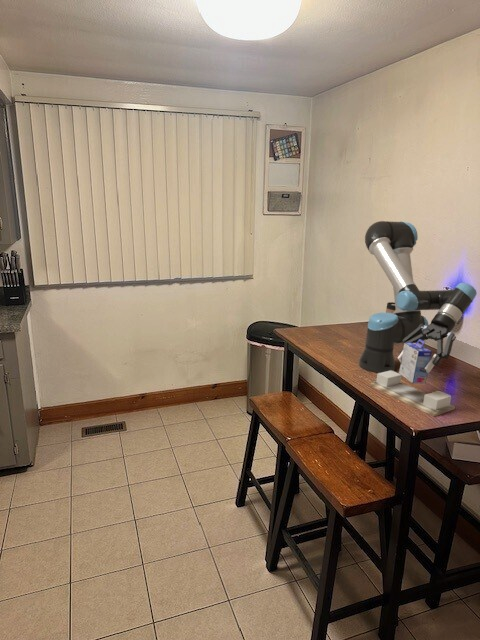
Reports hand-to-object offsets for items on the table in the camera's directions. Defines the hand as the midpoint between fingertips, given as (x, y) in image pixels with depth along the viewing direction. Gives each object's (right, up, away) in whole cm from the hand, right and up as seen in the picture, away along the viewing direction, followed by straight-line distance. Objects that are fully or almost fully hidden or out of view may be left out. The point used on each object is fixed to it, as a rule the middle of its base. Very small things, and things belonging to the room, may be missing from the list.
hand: (412, 365), depth 157 cm
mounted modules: (+2, -11, +5) cm, 12 cm away
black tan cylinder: (+16, +5, +71) cm, 73 cm away
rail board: (+1, -12, +6) cm, 14 cm away
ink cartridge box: (+1, -5, +2) cm, 5 cm away
